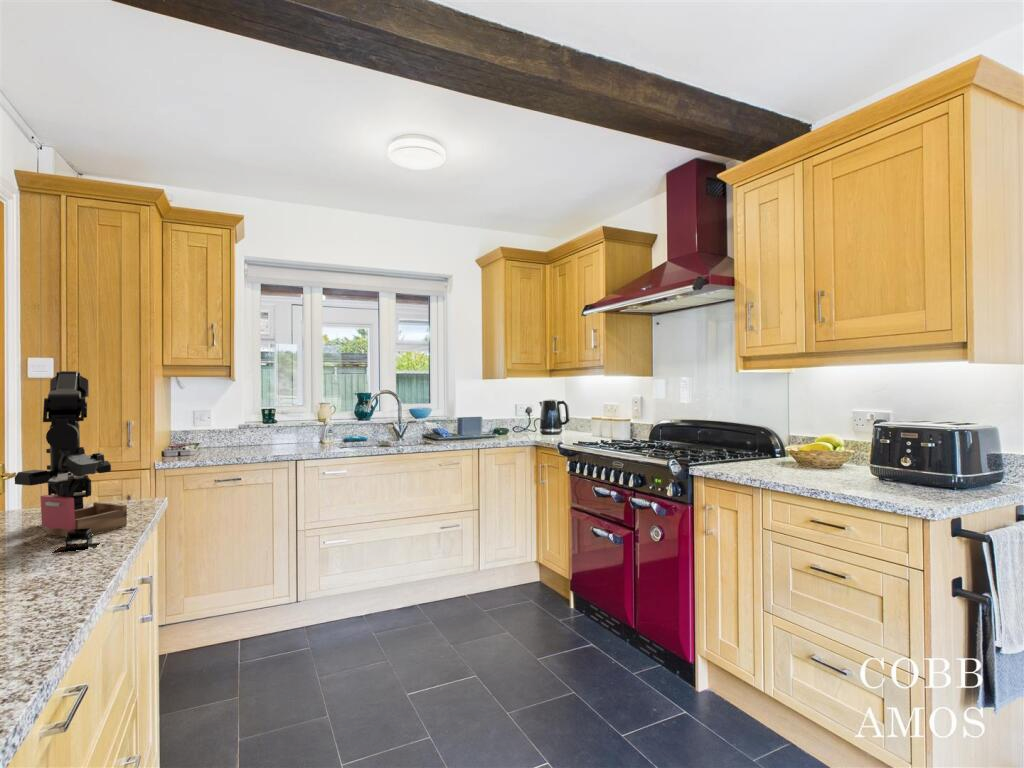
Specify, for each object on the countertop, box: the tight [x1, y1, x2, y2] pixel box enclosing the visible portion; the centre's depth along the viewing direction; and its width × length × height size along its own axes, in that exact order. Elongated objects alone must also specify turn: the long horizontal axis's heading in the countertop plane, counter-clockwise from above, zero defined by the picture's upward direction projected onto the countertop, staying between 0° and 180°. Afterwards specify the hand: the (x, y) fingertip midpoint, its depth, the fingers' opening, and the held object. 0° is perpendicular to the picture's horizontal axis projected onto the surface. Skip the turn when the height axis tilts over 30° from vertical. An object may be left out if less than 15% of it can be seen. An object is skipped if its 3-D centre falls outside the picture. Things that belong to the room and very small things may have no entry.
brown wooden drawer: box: [46, 501, 128, 537], centre depth 140 cm, size 11×12×6 cm
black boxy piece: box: [51, 528, 101, 554], centre depth 126 cm, size 12×7×5 cm, turn 113°
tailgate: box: [40, 494, 75, 530], centre depth 133 cm, size 10×2×8 cm, turn 72°
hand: (66, 506), depth 135 cm, fingers closed
